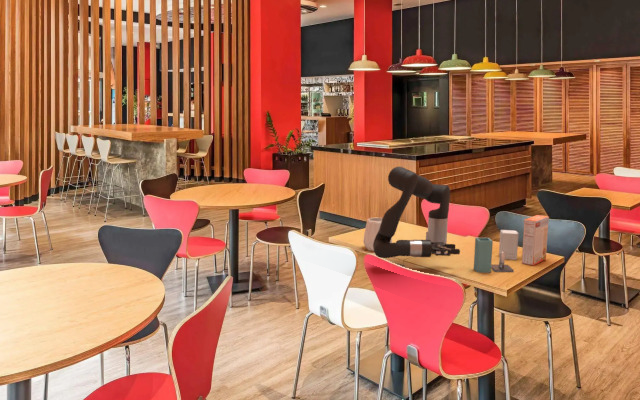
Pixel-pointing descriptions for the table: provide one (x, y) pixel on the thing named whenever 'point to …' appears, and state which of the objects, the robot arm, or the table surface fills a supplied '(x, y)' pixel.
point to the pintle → (501, 265)
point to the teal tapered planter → (483, 255)
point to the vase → (372, 232)
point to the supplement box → (509, 244)
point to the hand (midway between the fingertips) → (457, 249)
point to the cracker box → (535, 239)
